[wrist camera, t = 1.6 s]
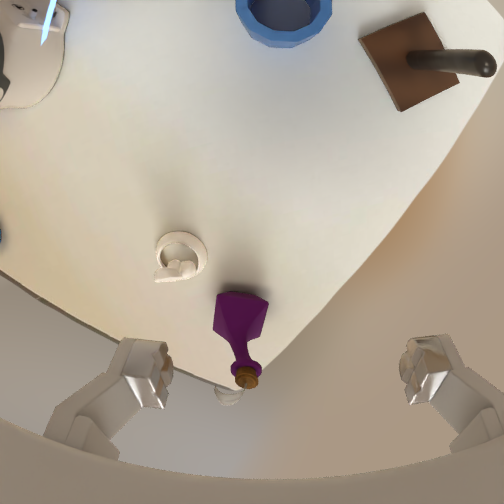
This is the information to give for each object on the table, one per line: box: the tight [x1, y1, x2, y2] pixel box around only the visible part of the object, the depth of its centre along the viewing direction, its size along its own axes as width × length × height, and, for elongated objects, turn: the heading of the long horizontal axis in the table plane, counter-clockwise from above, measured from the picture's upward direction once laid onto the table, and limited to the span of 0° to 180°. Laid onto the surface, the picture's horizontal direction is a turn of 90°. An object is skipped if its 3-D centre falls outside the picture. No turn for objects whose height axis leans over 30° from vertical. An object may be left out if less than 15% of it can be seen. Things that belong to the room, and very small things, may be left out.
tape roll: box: [236, 0, 332, 48], centre depth 24 cm, size 9×9×7 cm
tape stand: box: [358, 12, 497, 112], centre depth 22 cm, size 10×10×16 cm
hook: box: [154, 231, 207, 282], centre depth 41 cm, size 8×12×7 cm
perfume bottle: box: [213, 291, 269, 406], centre depth 42 cm, size 8×8×18 cm
